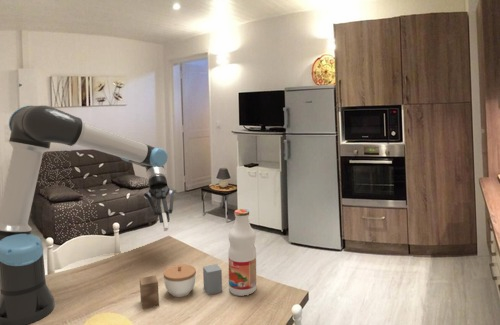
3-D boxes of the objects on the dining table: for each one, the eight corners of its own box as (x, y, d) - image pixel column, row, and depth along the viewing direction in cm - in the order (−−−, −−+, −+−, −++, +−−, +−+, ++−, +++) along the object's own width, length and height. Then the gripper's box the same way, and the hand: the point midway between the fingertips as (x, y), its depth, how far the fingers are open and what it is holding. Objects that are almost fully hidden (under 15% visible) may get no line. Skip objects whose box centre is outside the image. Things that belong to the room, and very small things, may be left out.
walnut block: (142, 309, 110) (141, 285, 109) (140, 301, 114) (139, 278, 113) (159, 305, 112) (157, 281, 111) (156, 298, 116) (155, 275, 115)
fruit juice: (261, 292, 120) (261, 212, 116) (237, 299, 115) (235, 216, 111) (247, 280, 128) (247, 205, 124) (224, 287, 123) (222, 209, 119)
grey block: (207, 295, 118) (207, 272, 117) (203, 288, 123) (203, 266, 122) (222, 292, 120) (221, 269, 119) (217, 285, 125) (216, 264, 123)
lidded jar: (201, 294, 119) (201, 267, 117) (171, 304, 113) (170, 276, 111) (188, 281, 127) (187, 257, 126) (159, 290, 121) (158, 264, 120)
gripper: (171, 182, 155) (181, 231, 143) (141, 186, 150) (148, 236, 138) (173, 173, 150) (184, 222, 137) (141, 175, 145) (149, 227, 132)
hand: (166, 229), depth 137 cm, fingers closed
